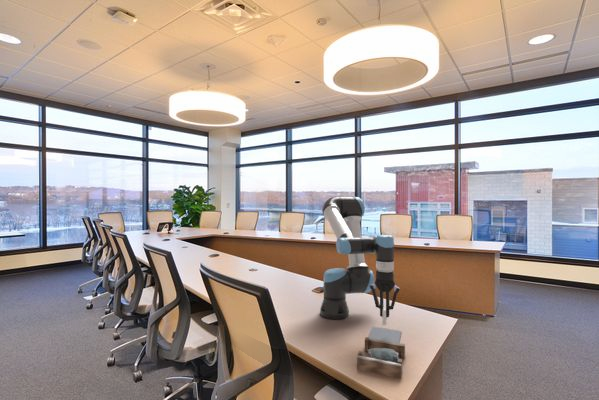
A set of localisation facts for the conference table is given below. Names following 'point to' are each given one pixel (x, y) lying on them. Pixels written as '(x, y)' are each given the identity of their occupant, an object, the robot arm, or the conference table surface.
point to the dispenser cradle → (381, 365)
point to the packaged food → (384, 354)
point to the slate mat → (385, 335)
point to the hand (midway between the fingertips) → (384, 324)
